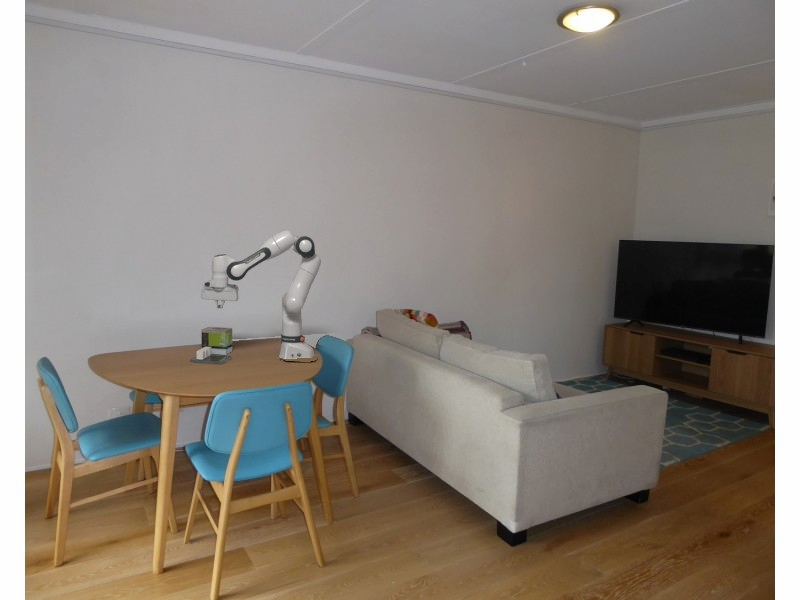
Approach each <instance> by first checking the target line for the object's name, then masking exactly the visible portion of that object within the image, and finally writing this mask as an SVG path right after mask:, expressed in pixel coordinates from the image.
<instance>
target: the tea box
mask: <svg viewBox="0 0 800 600" xmlns="http://www.w3.org/2000/svg"><path fill="white" fill-rule="evenodd" d="M200 344H201V347H200V348H201V349H202V348H204V347H211V355H221V356H228V355H229V354H231V353H232V352H233V328H232V327H219V326H218V327H217V326H207V327H204V328H202V329H201V343H200ZM230 352H231V353H230Z"/></svg>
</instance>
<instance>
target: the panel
mask: <svg viewBox="0 0 800 600" xmlns="http://www.w3.org/2000/svg"><path fill="white" fill-rule="evenodd" d="M228 360H229V361H230V360H232V356H231V355H218V354H211V355H210V356H208V357H206V358H205V359H203V360H201V359H197V355H196V356H195V357H192V358H191V359H189V363H190V362H193V364H205V363H206V365H207V364H208V365H209V364H211V365H221V364H223V365H224V364H226V363H227V362H229V361H228ZM225 362H226V363H225Z"/></svg>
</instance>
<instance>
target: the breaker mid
mask: <svg viewBox="0 0 800 600" xmlns="http://www.w3.org/2000/svg"><path fill="white" fill-rule="evenodd" d="M199 350H205V358H206V357H208V349H205V348H202V347H201V348H200V349H199Z"/></svg>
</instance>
